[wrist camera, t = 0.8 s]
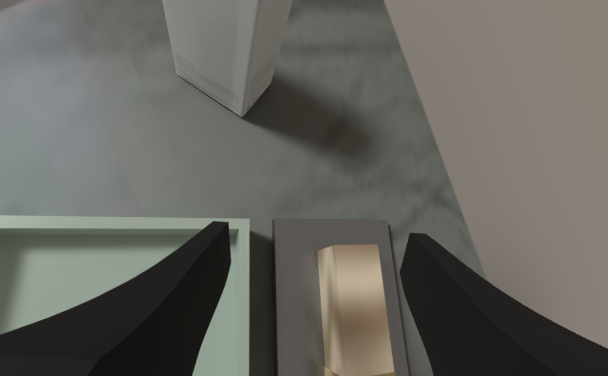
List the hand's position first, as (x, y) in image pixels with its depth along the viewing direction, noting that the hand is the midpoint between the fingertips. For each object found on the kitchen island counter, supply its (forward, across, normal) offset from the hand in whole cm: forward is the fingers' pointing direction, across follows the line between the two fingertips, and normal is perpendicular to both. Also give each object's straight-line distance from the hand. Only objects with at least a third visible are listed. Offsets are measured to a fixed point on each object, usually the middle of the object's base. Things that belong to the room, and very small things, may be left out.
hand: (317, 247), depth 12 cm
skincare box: (+23, +10, -3) cm, 25 cm away
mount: (+10, -3, +15) cm, 18 cm away
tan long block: (+9, -4, +14) cm, 17 cm away
